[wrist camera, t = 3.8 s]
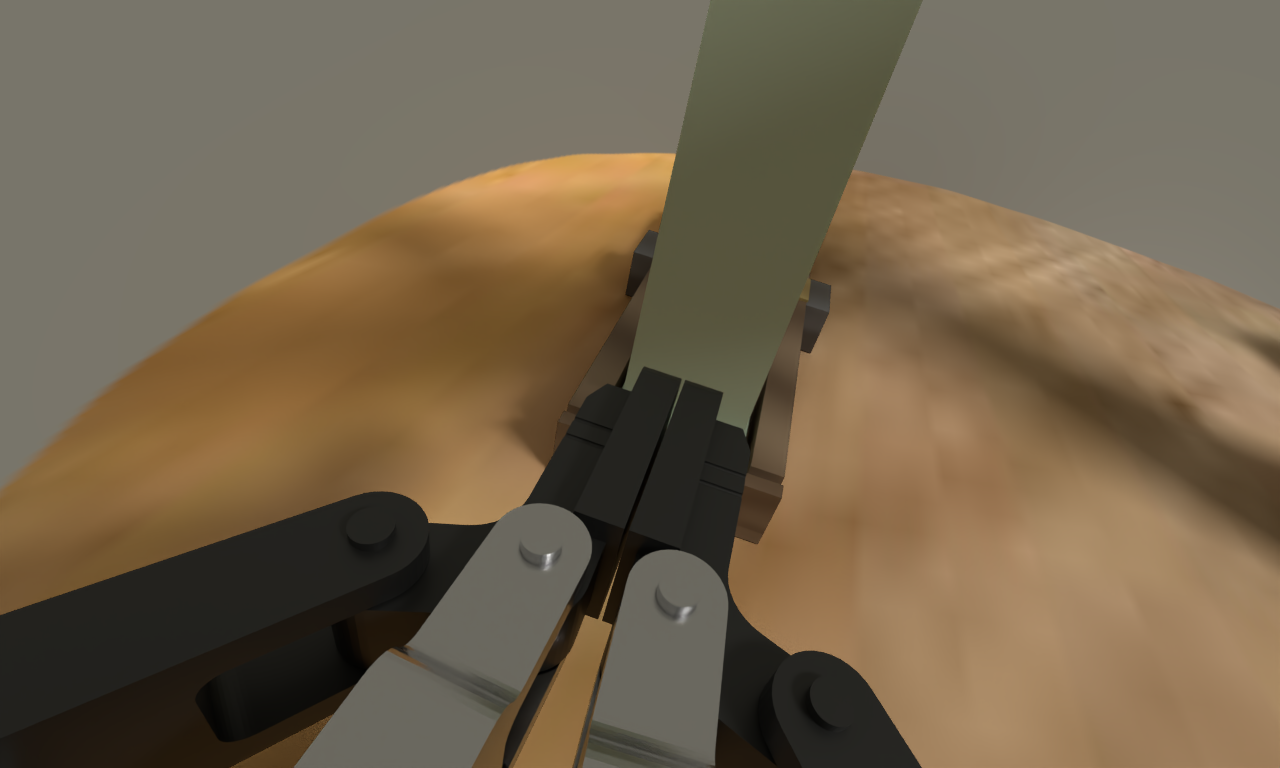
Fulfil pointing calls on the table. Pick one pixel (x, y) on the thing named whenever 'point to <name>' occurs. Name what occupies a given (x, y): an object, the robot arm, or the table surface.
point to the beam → (771, 406)
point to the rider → (759, 182)
